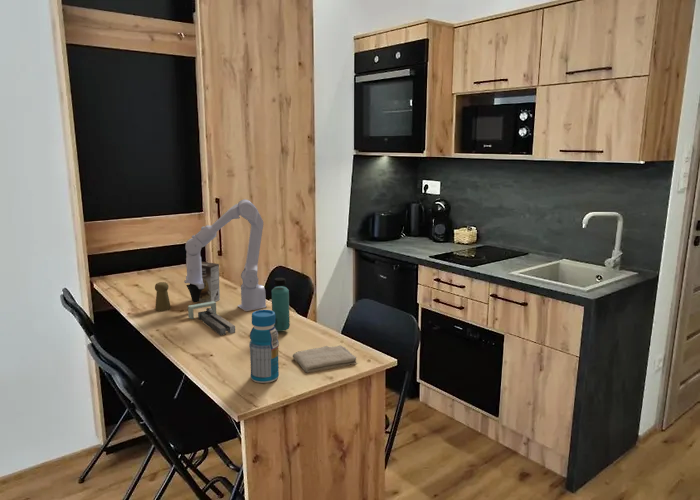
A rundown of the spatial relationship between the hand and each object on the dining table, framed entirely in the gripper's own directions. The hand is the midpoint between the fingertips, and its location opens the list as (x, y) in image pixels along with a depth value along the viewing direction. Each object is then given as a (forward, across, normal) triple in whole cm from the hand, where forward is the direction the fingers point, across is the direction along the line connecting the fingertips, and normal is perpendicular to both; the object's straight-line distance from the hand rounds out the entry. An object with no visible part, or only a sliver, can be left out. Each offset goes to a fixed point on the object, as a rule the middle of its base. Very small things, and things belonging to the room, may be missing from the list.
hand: (195, 301), depth 212 cm
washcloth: (+4, +69, +16) cm, 71 cm away
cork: (+4, -10, -10) cm, 15 cm away
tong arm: (+4, +19, +2) cm, 20 cm away
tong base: (+4, +19, 0) cm, 20 cm away
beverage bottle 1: (+4, +69, -5) cm, 69 cm away
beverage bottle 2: (+4, +39, +17) cm, 42 cm away
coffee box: (+4, -11, +9) cm, 15 cm away
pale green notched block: (+4, +7, 0) cm, 8 cm away
